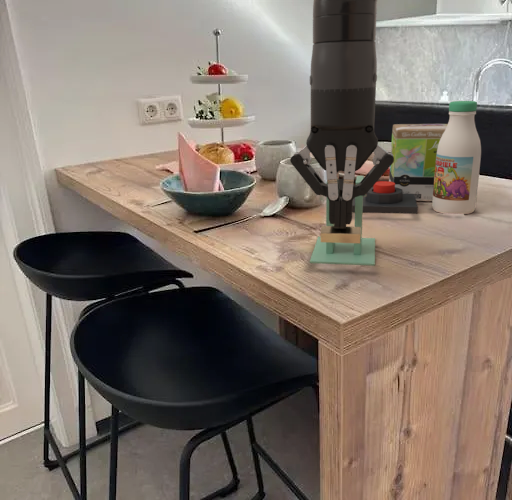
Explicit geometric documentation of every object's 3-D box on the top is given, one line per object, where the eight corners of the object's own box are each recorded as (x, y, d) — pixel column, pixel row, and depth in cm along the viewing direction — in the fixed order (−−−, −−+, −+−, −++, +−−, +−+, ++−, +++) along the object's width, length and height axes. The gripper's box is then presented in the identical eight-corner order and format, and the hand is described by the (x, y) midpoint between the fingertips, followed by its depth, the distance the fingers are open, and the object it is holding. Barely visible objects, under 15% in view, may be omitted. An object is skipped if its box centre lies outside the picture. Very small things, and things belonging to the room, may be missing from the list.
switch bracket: (374, 271, 69) (378, 188, 65) (309, 268, 71) (309, 187, 67) (374, 245, 79) (377, 171, 75) (317, 243, 81) (317, 171, 77)
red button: (394, 190, 98) (394, 181, 97) (395, 194, 94) (395, 185, 93) (373, 189, 99) (373, 181, 98) (373, 194, 95) (373, 185, 94)
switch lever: (360, 246, 64) (360, 231, 62) (320, 244, 65) (320, 230, 63) (363, 193, 73) (363, 178, 71) (328, 192, 74) (328, 178, 72)
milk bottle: (447, 202, 101) (456, 99, 94) (483, 210, 95) (496, 100, 88) (423, 210, 96) (431, 102, 90) (459, 218, 90) (471, 103, 84)
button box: (413, 204, 101) (414, 184, 99) (417, 218, 92) (418, 197, 90) (352, 203, 103) (353, 184, 102) (350, 216, 94) (351, 196, 93)
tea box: (391, 203, 102) (395, 129, 97) (388, 191, 111) (391, 123, 106) (469, 203, 100) (477, 127, 95) (459, 191, 109) (466, 121, 104)
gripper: (400, 81, 60) (392, 220, 66) (291, 85, 63) (293, 217, 69) (403, 84, 53) (394, 238, 59) (281, 88, 56) (284, 234, 62)
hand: (340, 226), depth 64 cm, fingers closed
